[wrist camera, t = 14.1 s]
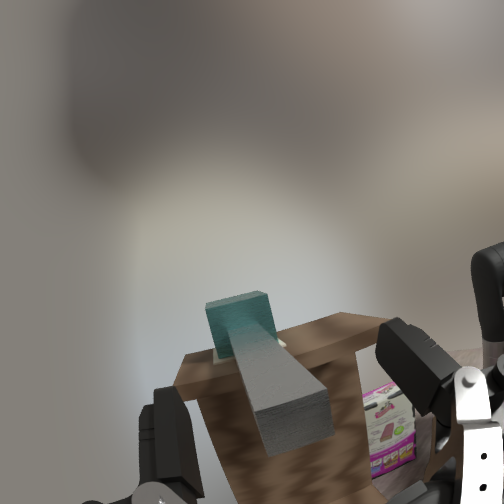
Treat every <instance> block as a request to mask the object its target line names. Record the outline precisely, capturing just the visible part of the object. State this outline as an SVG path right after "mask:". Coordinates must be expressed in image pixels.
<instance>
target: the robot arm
mask: <svg viewBox="0 0 504 504" xmlns="http://www.w3.org/2000/svg"><path fill="white" fill-rule="evenodd" d="M471 276H472V282H473V288H474V293H475V297H476V303H477V310H478V317H479V322H480V326H481V330H482V344H483V369H482V370H479V369H477V368H475V367H471V366H465V367H461V366H460V365H459V364H458V363H457V362H456V361H455V360H454V359H453V358H452V357H451V356H450V355H449V354H447V353H446V352H445V351H444V350H443V349H442V348H441V347H440V346H439V345H436V342H435V341H434V340H433V339H430V337H429V336H428V335H427V334H426V333H425V332H424V331H423V330H422V329H420V328H417V327H415V326H413V325H411V324H410V325H407V324H406V323H405V322H404V321H402V320H401V319H400V318H398V317H396V318H393V319H391V320H389V321H386V322H384V323H382V324H380V326H379V331H378V338H377V345H376V350H375V353H376V358H377V361H378V363H379V364H380V365H381V367H382V368H383V369H384V370H385V372H386V373H387V374H388V375H389V376H390V377H391V379H392V380H393V381H394V383H395V384H396V385H397V386H398V387H399V389H400V390H401V391H402V392H403V394H404V395H405V396H406V397H407V399H408V400H409V401H410V402H411V403H412V405H413V406H414V407H415V408H416V410H417V411H418V412H419V413H420V415H421V416H422V417H424V416H425V415H427V414H428V413H430V412H432V413H433V414H434V416H433V420H432V441H431V454H430V460H429V463H428V465H427V467H426V470H425V474H424V480H423V482H422V480H419V481H418V482H416V483H415V484H413V485H411V486H410V487H408V488H406V489H405V490H403V491H401V492H400V493H398V494H396V495H395V496H394V497H393V498H391V499H390V500H389V501H388V502H387V503H386V504H504V489H502V488H503V454H502V450H503V451H504V307H503V301H502V297H504V242H501V243H498V244H496V245H493V246H490V247H488V248H485V249H482V250H480V251H478V252H476V253H475V254H474V255H473V257H472V261H471ZM139 467H140V469H139V470H140V481H139V485H138V487H137V488H136V490H135V491H134V493H133V494H132V495H131V496H129V497H127V498H125V499H122V500H119V501H116V502H113V503H109V504H197V500H196V499H198V498H204V497H205V496H204V491H203V486H202V481H201V476H200V471H199V465H198V459H197V454H196V448H195V441H194V435H193V428H192V422H191V418H190V415H189V412H188V409H187V407H186V406H185V404H184V402H183V400H182V398H181V396H180V394H179V392H178V390H177V389H176V387H175V386H169V387H164V388H159V389H155V390H154V404H150V405H145V406H144V407H143V409H142V412H141V414H140V416H139ZM82 504H103V503H101V502H98V501H93V500H92V501H86V502H84V503H82Z"/></svg>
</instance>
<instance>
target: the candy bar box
mask: <svg viewBox="0 0 504 504" xmlns="http://www.w3.org/2000/svg"><path fill="white" fill-rule="evenodd" d="M362 397H363V404H364V411H365V418H366V426H367V434H368V443H369V452H370V463H371V475H372V479H374V478H377V477H379V476H381V475H383V474H385V473H387V472H390V471H392V470H394V469H396V468H398V467H400V466H402V465H403V464H405V463H407V462H409V461H411V460H413V459H415V458H416V426H415V407H414V406H413V405H412V403H411V402H410V401H409V400H408V399H407V397H406V396H405V395H404V394H403V392H402V391H401V390H400V389H399V387H398V386H397V385H396V384H395V383H394V381H393V382H391V383H389V384H386V385H384V386H382V387H380V388H377V389H375V390H373V391H370V392H368V393H366V394H363V395H362Z"/></svg>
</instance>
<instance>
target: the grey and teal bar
mask: <svg viewBox="0 0 504 504" xmlns="http://www.w3.org/2000/svg"><path fill="white" fill-rule="evenodd" d="M205 310H206V314H207V318H208V322H209V325H210V329H211V333H212V337H213V340H214V344H215V348H216V351H217V355H218V358H219V359H221V358H225V357H229V356H233V355H234V357H235V360H236V363H237V367H238V370H239V373H240V376H241V379H242V382H243V385H244V388H245V391H246V394H247V397H248V400H249V403H250V406H251V409H252V412H253V415H254V418H255V421H256V424H257V427H258V430H259V432H260V435H261V438H262V441H263V444H264V446H265V449H266V452H267V455H268V457H271V456H275V455H278V454H281V453H285V452H288V451H291V450H294V449H297V448H300V447H303V446H306V445H309V444H312V443H315V442H317V441H320V440H323V439H325V438H328V437H330V436H333V435H335V431H334V425H333V419H332V413H331V407H330V401H329V396H328V390H327V388H326V387H325V386H324V385H323V384H322V383H321V382H320V381H319V380H317V379H316V378H315V377H314V376H313V375H312V374H311V373H310V372H309V371H308V370H307V369H306V368H304V367H303V366H302V365H301V364H300V363H299V362H298V361H297V360H296V359H295V358H294V357H293V356H292V355H291V354H290V353H289V352H287V351H286V350H285V349H284V348H283V347H282V346H281V345H280V344H279V341H278V337H277V333H276V329H275V324H274V320H273V316H272V312H271V308H270V304H269V300H268V295H267V294H266V293H263V292H260V291H253V292H250V293H246V294H241V295H237V296H233V297H229V298H225V299H221V300H217V301H213V302H209V303H206V307H205Z"/></svg>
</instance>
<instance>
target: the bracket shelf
mask: <svg viewBox="0 0 504 504" xmlns="http://www.w3.org/2000/svg"><path fill="white" fill-rule="evenodd" d="M389 320H391V319H385V318H378V317H370V316H363V315H356V314H350V313H343V312H339V313H336V314H333V315H330V316H328V317H324V318H321V319H318V320H315V321H311V322H308V323H305V324H302V325H298V326H295V327H292V328H289V329H285V330H282V331H278V332H276V333H277V337H278V341H279V344H280V345H281V346H282V347H283V348H284V349H285V350H286V351H287V352H289V353H290V354H291V355H292V356H293V357H294V358H295V359H296V360H297V361H298V362H299V363H300V364H301V365H302V366H303V367H304V368H306V369H307V370H308V371H309V372H310V373H311V374H312V375H313V376H314V377H315V378H316V379H317V380H319V381H320V382H321V383H322V384H323V385H324V386H325V387H326V388H327V390H328V396H329V401H330V407H331V413H332V419H333V425H334V431H335V435H333V436H330V437H328V438H325V439H323V440H320V441H317V442H315V443H312V444H309V445H306V446H303V447H300V448H297V449H294V450H291V451H288V452H285V453H281V454H278V455H275V456H271V457H268V455H267V452H266V449H265V446H264V444H263V441H262V438H261V435H260V432H259V430H258V427H257V424H256V421H255V418H254V415H253V412H252V409H251V406H250V403H249V400H248V397H247V394H246V391H245V388H244V385H243V382H242V379H241V376H240V373H239V370H238V367H237V363H236V360H235V357H234V355H233V356H229V357H225V358H221V359H219V358H218V355H217V351H216V348H213V349H209V350H204V351H201V352H196V353H191V354H186V355H185V357H184V359H183V362H182V364H181V367H180V369H179V372H178V374H177V376H176V379H175V381H174V384H173V386H175V387H176V389H177V390H178V392H179V394H180V396H181V398H182V400H183V402H185V401H190V400H195V399H197V402H198V405H199V408H200V410H201V413H202V416H203V419H204V422H205V425H206V427H207V430H208V433H209V435H210V438H211V440H212V443H213V446H214V448H215V451H216V453H217V456H218V458H219V461H220V463H221V466H222V468H223V470H224V473H225V475H226V478H227V480H228V482H229V484H230V487H231V489H232V491H233V494H234V496H235V498H236V500H237V502H238V504H386V503H387V502H388V500H387V499H386V498H385V497H384V496H383V495H382V494H381V493H380V492H379V491H378V490H377V489H376V488H375V487H374V486H373V485H372V475H371V463H370V452H369V443H368V434H367V426H366V418H365V411H364V404H363V397H362V390H361V384H360V378H359V372H358V366H357V361H356V355H355V352H356V351H359V350H361V349H363V348H366V347H368V346H371V345H373V344H375V343H377V338H378V331H379V326H380V324H382V323H384V322H386V321H389Z"/></svg>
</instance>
